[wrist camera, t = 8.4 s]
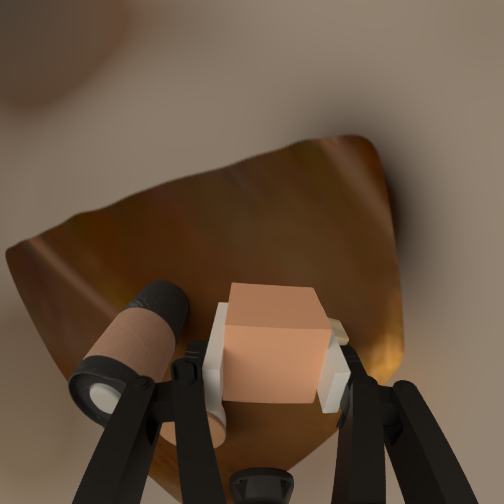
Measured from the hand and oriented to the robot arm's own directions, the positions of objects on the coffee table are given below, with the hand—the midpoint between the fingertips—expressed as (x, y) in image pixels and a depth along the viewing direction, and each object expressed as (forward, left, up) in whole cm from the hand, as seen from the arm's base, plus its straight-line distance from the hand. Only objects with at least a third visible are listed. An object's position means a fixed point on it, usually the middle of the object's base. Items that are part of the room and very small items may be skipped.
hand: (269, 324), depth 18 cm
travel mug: (-9, +13, -19) cm, 25 cm away
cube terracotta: (0, 0, 0) cm, 0 cm away
